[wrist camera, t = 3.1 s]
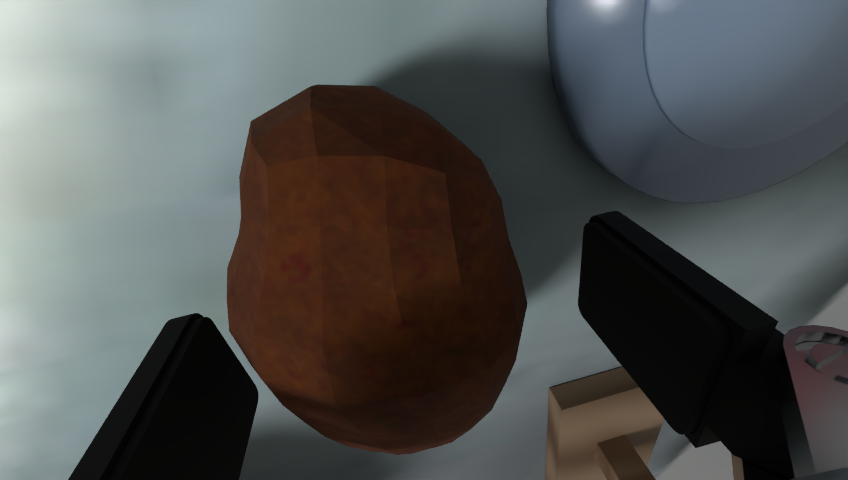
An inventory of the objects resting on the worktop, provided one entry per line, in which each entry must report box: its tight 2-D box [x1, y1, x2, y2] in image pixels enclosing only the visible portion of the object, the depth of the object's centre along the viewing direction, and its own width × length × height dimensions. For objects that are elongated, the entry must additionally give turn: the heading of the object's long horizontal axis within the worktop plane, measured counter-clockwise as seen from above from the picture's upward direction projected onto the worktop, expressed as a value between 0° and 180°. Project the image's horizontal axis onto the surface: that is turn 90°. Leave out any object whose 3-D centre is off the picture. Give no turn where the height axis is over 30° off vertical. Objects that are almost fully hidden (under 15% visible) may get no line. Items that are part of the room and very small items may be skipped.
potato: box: [227, 85, 527, 455], centre depth 9 cm, size 7×9×6 cm
